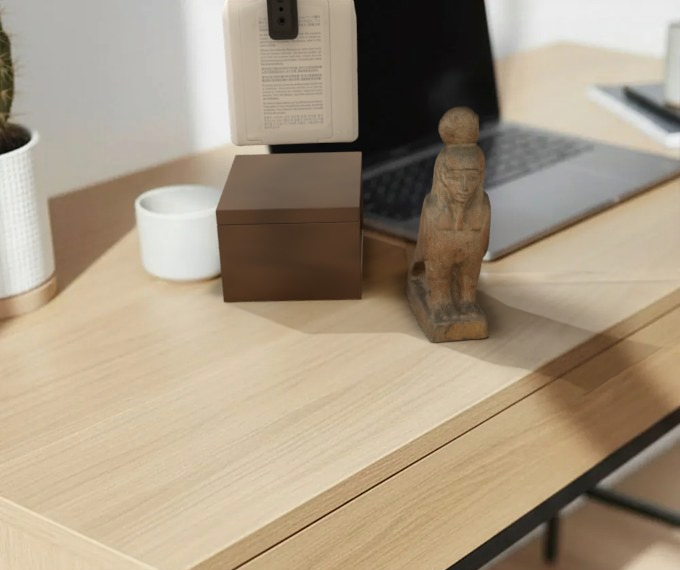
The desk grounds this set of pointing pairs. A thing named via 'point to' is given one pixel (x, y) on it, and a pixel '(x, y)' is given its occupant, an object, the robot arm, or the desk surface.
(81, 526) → the desk surface
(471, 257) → the worn brown figurine
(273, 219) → the lidded wooden box
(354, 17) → the photo printer
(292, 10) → the robot arm
